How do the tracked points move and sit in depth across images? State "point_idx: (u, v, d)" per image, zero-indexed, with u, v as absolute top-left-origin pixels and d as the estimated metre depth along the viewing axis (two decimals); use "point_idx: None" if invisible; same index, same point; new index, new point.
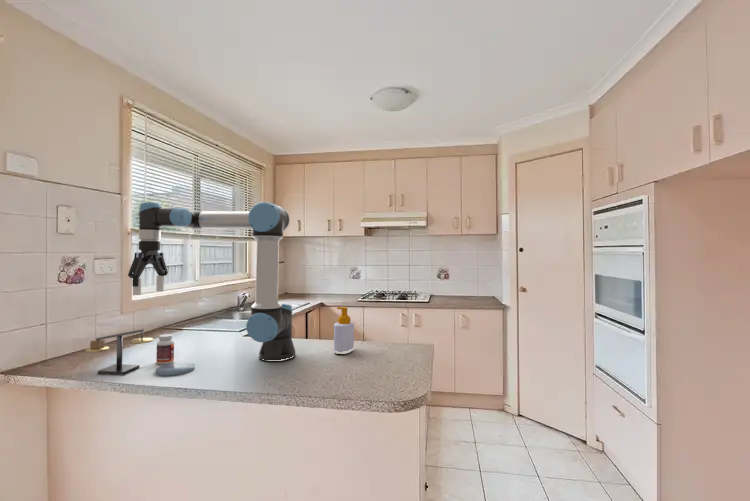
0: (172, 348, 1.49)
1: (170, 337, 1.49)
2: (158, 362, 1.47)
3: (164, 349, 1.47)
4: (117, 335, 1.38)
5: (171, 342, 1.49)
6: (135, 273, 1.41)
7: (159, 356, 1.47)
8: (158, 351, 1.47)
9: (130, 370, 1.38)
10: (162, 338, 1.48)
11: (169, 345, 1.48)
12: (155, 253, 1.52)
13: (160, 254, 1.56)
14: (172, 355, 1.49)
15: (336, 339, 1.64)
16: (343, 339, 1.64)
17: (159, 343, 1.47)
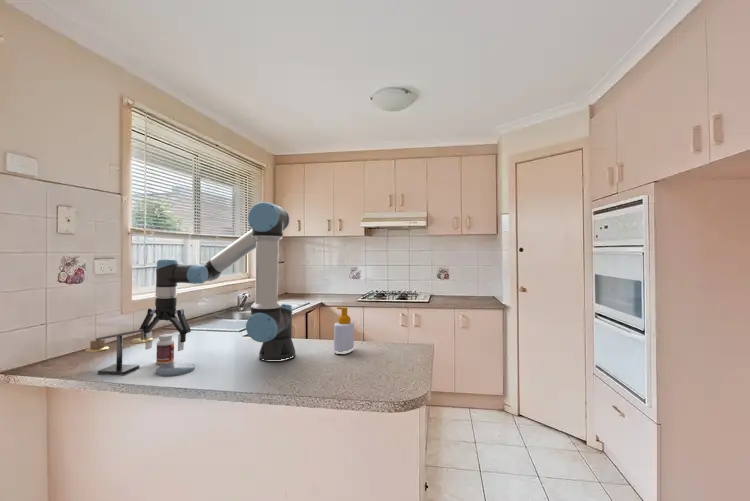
0: (172, 348, 1.49)
1: (170, 337, 1.49)
2: (158, 362, 1.47)
3: (164, 349, 1.47)
4: (117, 335, 1.38)
5: (171, 342, 1.49)
6: (141, 328, 1.49)
7: (159, 356, 1.47)
8: (158, 351, 1.47)
9: (130, 370, 1.38)
10: (162, 338, 1.48)
11: (169, 345, 1.48)
12: (168, 310, 1.49)
13: None
14: (172, 355, 1.49)
15: (336, 339, 1.64)
16: (343, 339, 1.64)
17: (159, 343, 1.47)
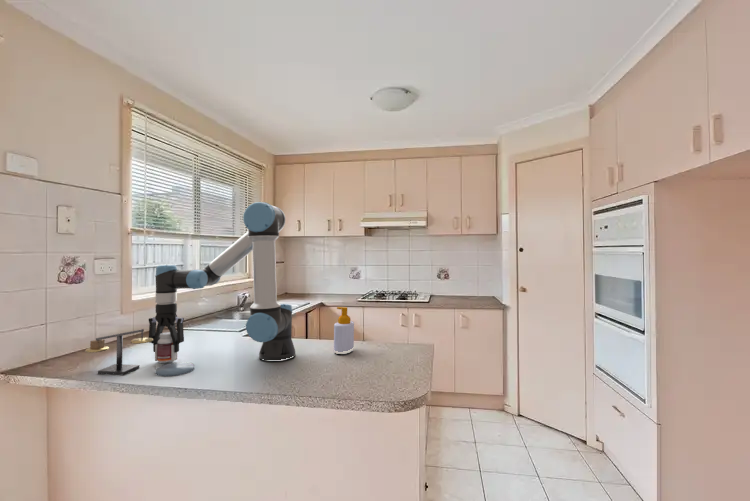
0: None
1: None
2: (159, 360, 1.47)
3: (164, 347, 1.47)
4: (117, 335, 1.38)
5: None
6: None
7: (160, 355, 1.47)
8: (159, 349, 1.47)
9: (130, 370, 1.38)
10: (163, 336, 1.47)
11: (170, 343, 1.48)
12: (170, 315, 1.48)
13: None
14: None
15: (336, 339, 1.64)
16: (343, 339, 1.64)
17: (160, 341, 1.47)
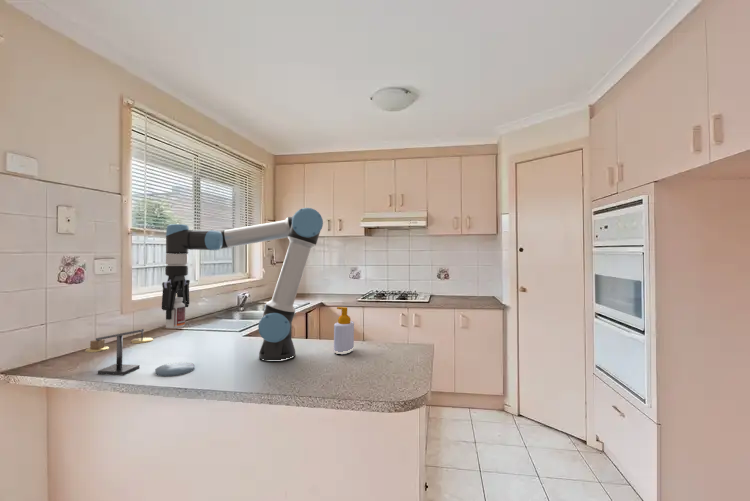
0: None
1: None
2: (181, 325, 1.39)
3: (184, 310, 1.41)
4: (117, 335, 1.38)
5: None
6: (168, 306, 1.34)
7: (182, 318, 1.39)
8: (181, 313, 1.39)
9: (130, 370, 1.38)
10: (182, 299, 1.40)
11: None
12: (183, 277, 1.42)
13: (186, 281, 1.45)
14: None
15: (336, 339, 1.64)
16: (343, 339, 1.64)
17: (181, 305, 1.39)
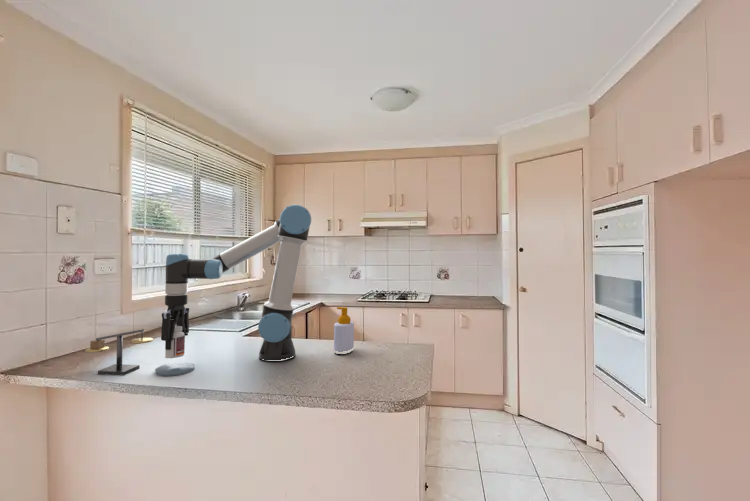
0: None
1: None
2: (181, 354, 1.39)
3: None
4: (117, 335, 1.38)
5: None
6: (168, 336, 1.34)
7: (182, 348, 1.39)
8: (181, 343, 1.39)
9: (130, 370, 1.38)
10: (181, 329, 1.40)
11: None
12: (182, 306, 1.42)
13: (186, 309, 1.45)
14: None
15: (336, 339, 1.64)
16: (343, 339, 1.64)
17: (181, 334, 1.39)
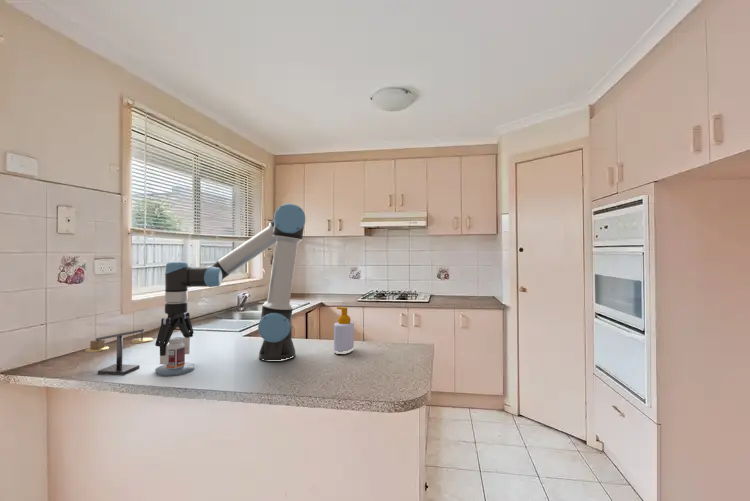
0: None
1: None
2: (181, 365, 1.39)
3: (184, 350, 1.41)
4: (117, 335, 1.38)
5: None
6: (163, 342, 1.31)
7: (182, 359, 1.39)
8: (181, 354, 1.39)
9: (130, 370, 1.38)
10: (181, 340, 1.40)
11: None
12: (182, 315, 1.42)
13: (186, 314, 1.46)
14: None
15: (336, 339, 1.64)
16: (343, 339, 1.64)
17: (181, 345, 1.39)
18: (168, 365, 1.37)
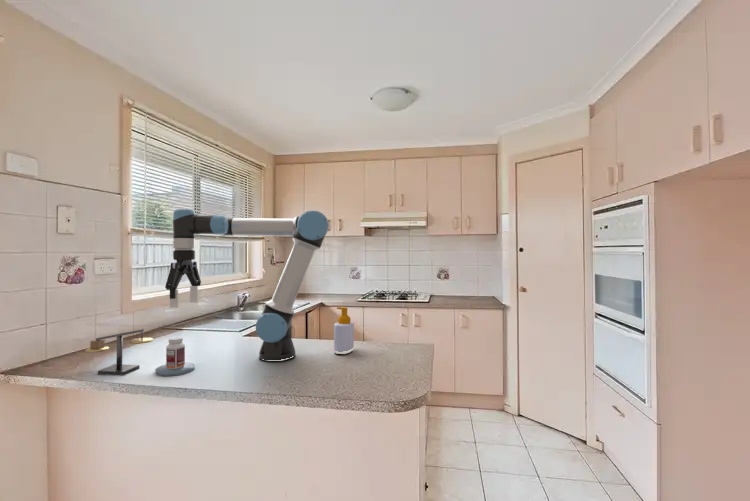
0: None
1: None
2: (181, 365, 1.39)
3: (184, 350, 1.41)
4: (117, 335, 1.38)
5: None
6: (173, 284, 1.33)
7: (182, 359, 1.39)
8: (181, 354, 1.39)
9: (130, 370, 1.38)
10: (181, 340, 1.40)
11: None
12: (189, 262, 1.44)
13: (194, 263, 1.48)
14: None
15: (336, 339, 1.64)
16: (343, 339, 1.64)
17: (181, 345, 1.39)
18: (168, 365, 1.37)
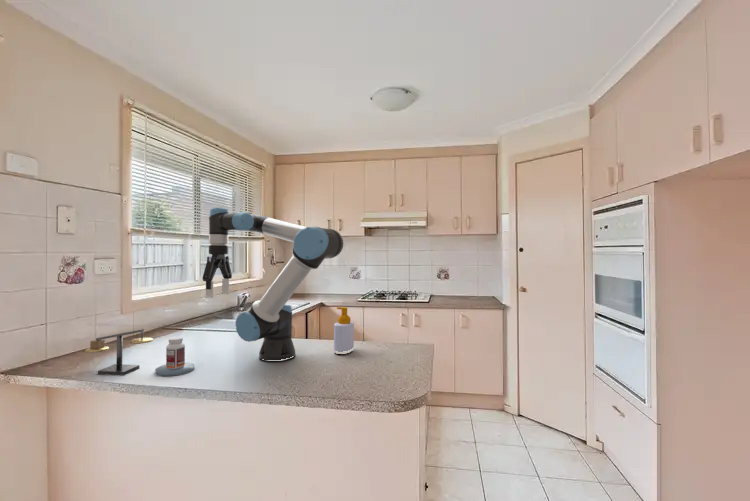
0: None
1: None
2: (181, 365, 1.39)
3: (184, 350, 1.41)
4: (117, 335, 1.38)
5: None
6: (209, 276, 1.46)
7: (182, 359, 1.39)
8: (181, 354, 1.39)
9: (130, 370, 1.38)
10: (181, 340, 1.40)
11: None
12: (223, 257, 1.57)
13: (226, 258, 1.61)
14: None
15: (336, 339, 1.64)
16: (343, 339, 1.64)
17: (181, 345, 1.39)
18: (168, 365, 1.37)
